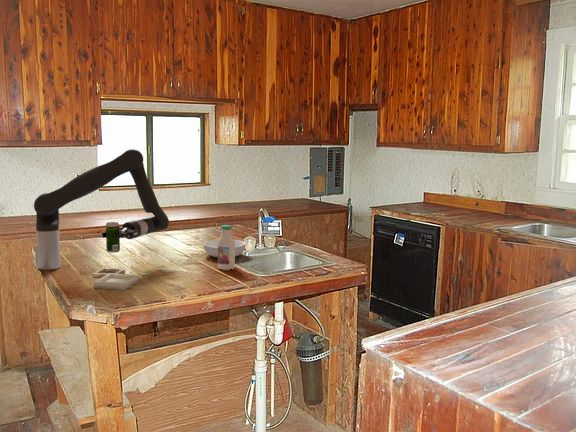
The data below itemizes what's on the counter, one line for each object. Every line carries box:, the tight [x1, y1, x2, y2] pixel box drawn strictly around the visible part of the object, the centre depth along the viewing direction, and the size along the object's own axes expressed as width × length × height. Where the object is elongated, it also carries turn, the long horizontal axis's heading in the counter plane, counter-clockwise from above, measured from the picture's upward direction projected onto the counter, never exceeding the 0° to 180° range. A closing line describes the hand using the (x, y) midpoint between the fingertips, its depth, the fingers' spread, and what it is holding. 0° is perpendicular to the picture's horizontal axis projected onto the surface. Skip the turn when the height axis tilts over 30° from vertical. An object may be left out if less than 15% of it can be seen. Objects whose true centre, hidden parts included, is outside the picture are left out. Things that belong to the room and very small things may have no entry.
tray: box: [93, 272, 140, 291], centre depth 221 cm, size 13×13×2 cm
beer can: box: [105, 221, 121, 254], centre depth 226 cm, size 5×5×12 cm
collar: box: [92, 267, 126, 279], centre depth 235 cm, size 10×10×2 cm
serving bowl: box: [203, 238, 247, 258], centre depth 273 cm, size 21×21×7 cm
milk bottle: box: [217, 224, 236, 271], centre depth 248 cm, size 8×8×20 cm
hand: (108, 236), depth 224 cm, fingers closed on beer can, 5 cm apart
